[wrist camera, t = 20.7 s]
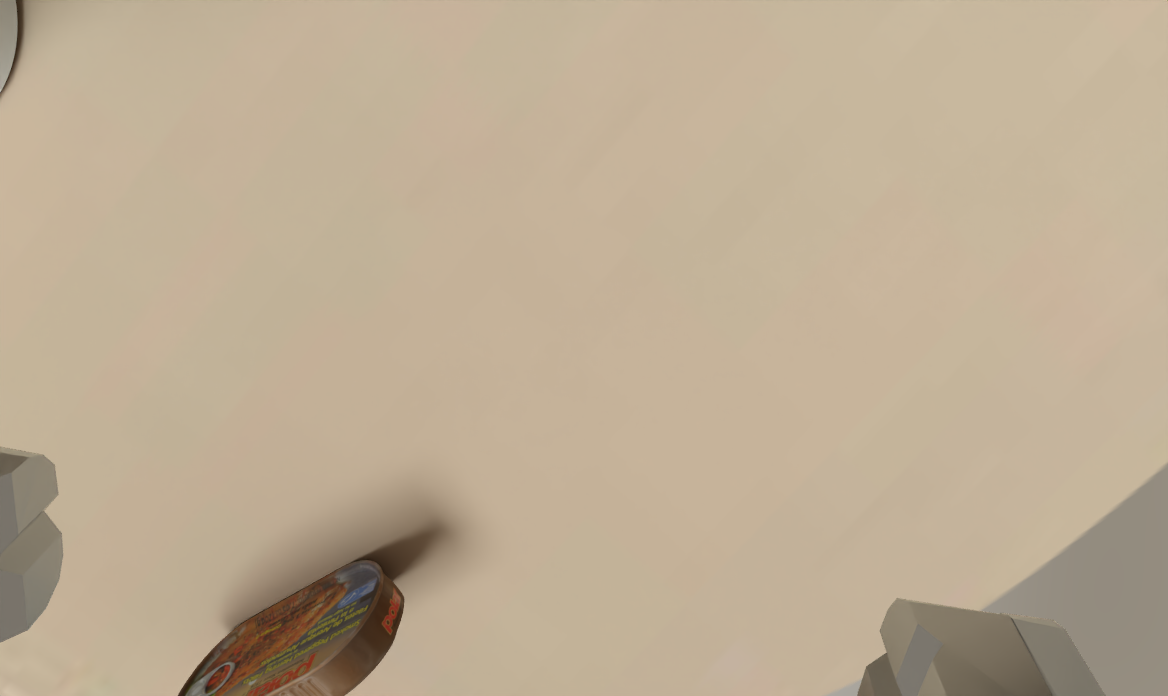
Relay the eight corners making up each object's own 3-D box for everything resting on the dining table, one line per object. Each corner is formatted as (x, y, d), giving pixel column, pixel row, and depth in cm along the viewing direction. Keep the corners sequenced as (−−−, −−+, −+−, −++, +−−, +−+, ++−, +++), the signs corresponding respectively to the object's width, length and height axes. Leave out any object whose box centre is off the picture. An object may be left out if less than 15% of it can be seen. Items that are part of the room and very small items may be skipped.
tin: (394, 537, 54) (354, 638, 47) (427, 575, 55) (392, 680, 48) (203, 642, 58) (137, 750, 51) (237, 676, 59) (177, 787, 52)
